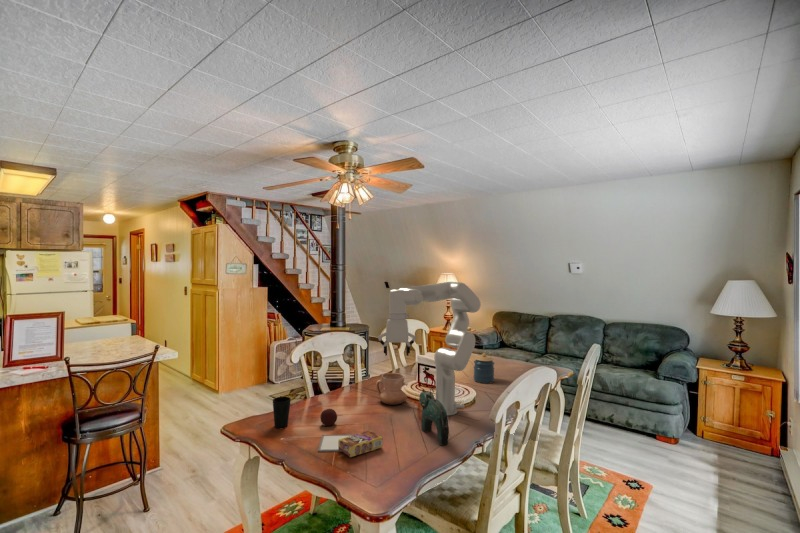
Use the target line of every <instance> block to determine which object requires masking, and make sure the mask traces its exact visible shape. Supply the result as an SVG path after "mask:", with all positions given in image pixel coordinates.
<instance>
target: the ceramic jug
mask: <svg viewBox="0 0 800 533" xmlns="http://www.w3.org/2000/svg"><path fill="white" fill-rule="evenodd" d="M404 381H405V374H402V373H398V372H396V373H395V372H387V373H382V374H381V379H378V380H377V381H376V382H375V386H376V390H377V392H378V398H379V400H380V401H381V402H382V403H383V404H386V405H390V406H393V405H394V406H395V405H401V404H402V403H404V402H405V401H407V398H408V396H407V394H406V392H405V391H403V390H402V387H404V386H406V387H407V386H408V385H409V383H408V382H404ZM379 384H381V385H383V387H384V389H383V390H382V391H381V389H380V386H379Z"/></svg>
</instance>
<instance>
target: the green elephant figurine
mask: <svg viewBox="0 0 800 533" xmlns="http://www.w3.org/2000/svg"><path fill="white" fill-rule="evenodd" d="M433 393H435V391H434V388H432V387H431V388H430V390H429V391H426V390H425V389H424V388H422V390H421V393H420V394H419V398H418V399H419V401H418V402H419V405H420V406H421V408H422V410H421V419H420V421H421V431H423V432H424V433H428V432H432V428H433V427H432V426H433V423H434V425H435V427H436V433H437V439H438V440H437V441H438V445H440V446H441V445H442V447H443V445H444V446H448V444H449V434H450V428H449V418H448V416H447V413H446V410H445V408H444V406H443V404H442V403H441V402H440V401H438V400H436V397H435V395H434V394H433Z"/></svg>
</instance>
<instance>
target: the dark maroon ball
mask: <svg viewBox="0 0 800 533" xmlns="http://www.w3.org/2000/svg"><path fill="white" fill-rule="evenodd" d="M337 420H338V414H337V412H336V411H335V409H333V408H327V409H324V410H323V411H321V413H320V423H321V424H322V425H324V426H327V427H330V426H332V425H334V424H335V423H336V422H337Z"/></svg>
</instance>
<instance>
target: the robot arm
mask: <svg viewBox="0 0 800 533" xmlns="http://www.w3.org/2000/svg"><path fill="white" fill-rule="evenodd" d="M388 299H389V300H388V302H389V303H388V304H389V306H388V308H389V309H388V319H386V326H385V332H383V333H382V334H379V335H378V336H377V339H378V341H379V343H380V344H381V345H382V346H383V354H385V356H388V344H389V343H398V344H399V343H402V344H403V343H404V344H406V352H405V355H406V356H409V354H410V353H411V346H412V345H414V343H415V341H416V339H417V336H416V335H414V334H412V333H411V332H409V324H408V320H407V319H408V318H410V314H407V311H406V310H407V309H406V308H407V306H414V307H415V306H418V305H420V304H421V303H422V302H423V303H425V302H426V303H428V302H429V303H432V302H433V303H436V302H441V301H445V300H450V307H451V309H452V314H453V318H452V322H451V324H450V326H449V328H448V330H447V333H446V335H445V340H444V341H445V345H447V346H448V347H440V348H438V349H436V351H435V352H434V353H435V354H434V365H435V400H438V401H440V402H441V403H442V404H443V406H444V408H445V410H446V413H447V417H448V416H454V415H457V413H458V411H459V410H458V409H465V404H462V403H461V402H456V373H455V371H456V372H462V371H464V370H465V369H466V368H467V365H468V364H469V361H470V359H471V356H472V354H473V353H474V352H473V351H474V349H475V347H476V346H475V345H476V336H475V334H474V333H472V331H469V330H468V328H469V325H470V319H469V316H468V313H471V314H474V313H477V312H479V311H480V309H481V300H480V298H479V297H478V296H477V294H476V293H475V292H474V291H473V289H471V287H469V286H468V285H467V284H466V283H464V282H460V281H458V282H457V281H445V282H437V283H433V284H424V285H423V284H422V285H414V286H406V287H400V288H399V289H391V290H390V291H389V298H388ZM409 337H410V338H411V340H410V341H409ZM383 338H385V341H384V340H383ZM449 347H450V348H449Z"/></svg>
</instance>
